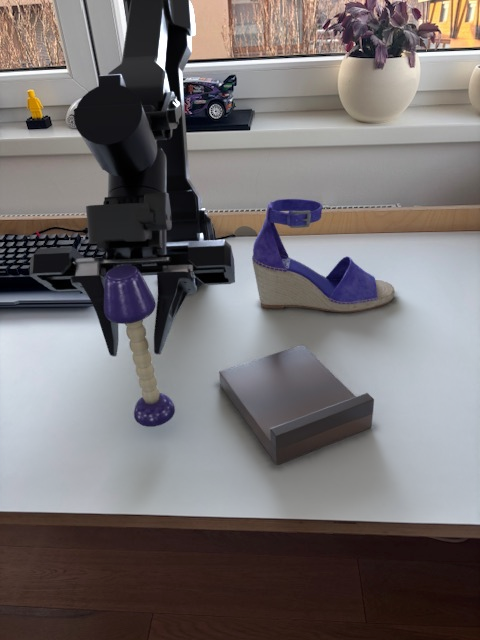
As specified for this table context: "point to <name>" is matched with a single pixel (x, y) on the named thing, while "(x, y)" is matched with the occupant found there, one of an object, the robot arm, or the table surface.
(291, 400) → the shoe shelf
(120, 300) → the toy lamp
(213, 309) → the table surface
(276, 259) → the sandal
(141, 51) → the robot arm
